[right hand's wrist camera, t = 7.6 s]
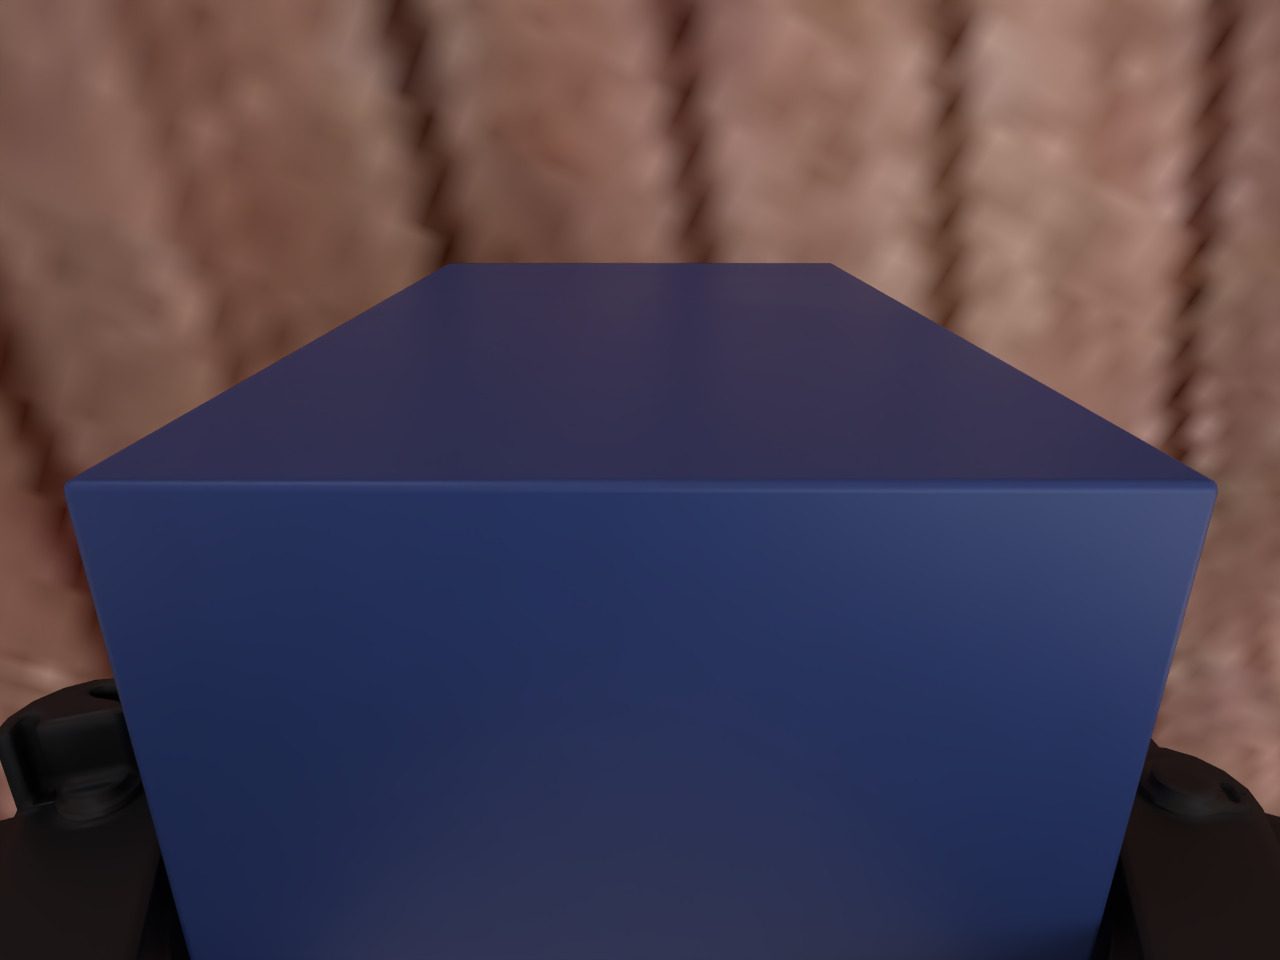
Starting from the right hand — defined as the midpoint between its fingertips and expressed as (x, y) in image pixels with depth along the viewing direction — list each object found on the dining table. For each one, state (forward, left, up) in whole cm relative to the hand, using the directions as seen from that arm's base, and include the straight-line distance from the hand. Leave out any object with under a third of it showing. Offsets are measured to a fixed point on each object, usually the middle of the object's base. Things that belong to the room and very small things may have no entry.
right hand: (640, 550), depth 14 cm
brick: (0, 0, -2) cm, 2 cm away
